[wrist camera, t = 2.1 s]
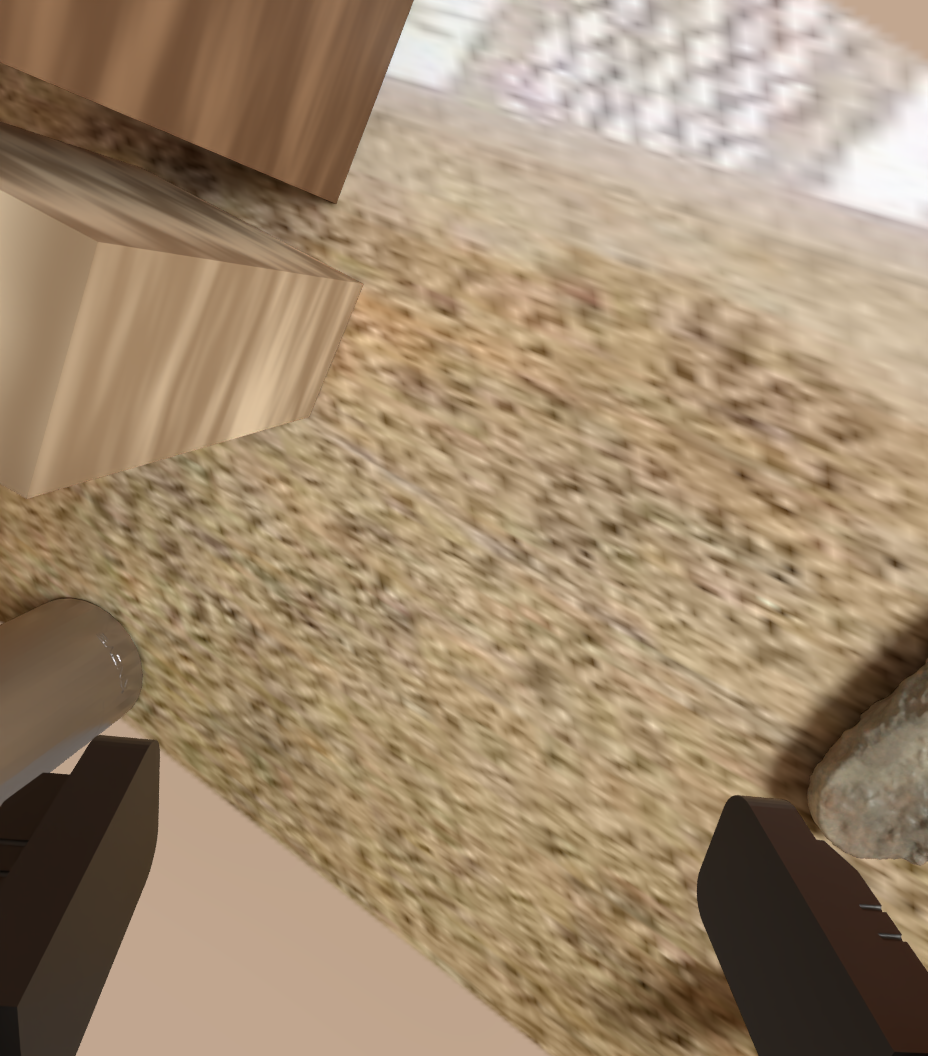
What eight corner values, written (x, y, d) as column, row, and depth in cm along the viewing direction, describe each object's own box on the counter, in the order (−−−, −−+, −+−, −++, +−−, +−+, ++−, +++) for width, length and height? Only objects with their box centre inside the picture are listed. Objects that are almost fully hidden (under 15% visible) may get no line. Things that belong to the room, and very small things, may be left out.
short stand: (363, 283, 39) (97, 242, 19) (309, 416, 42) (26, 498, 22) (141, 167, 40) (-330, 13, 20) (101, 304, 43) (-350, 287, 23)
